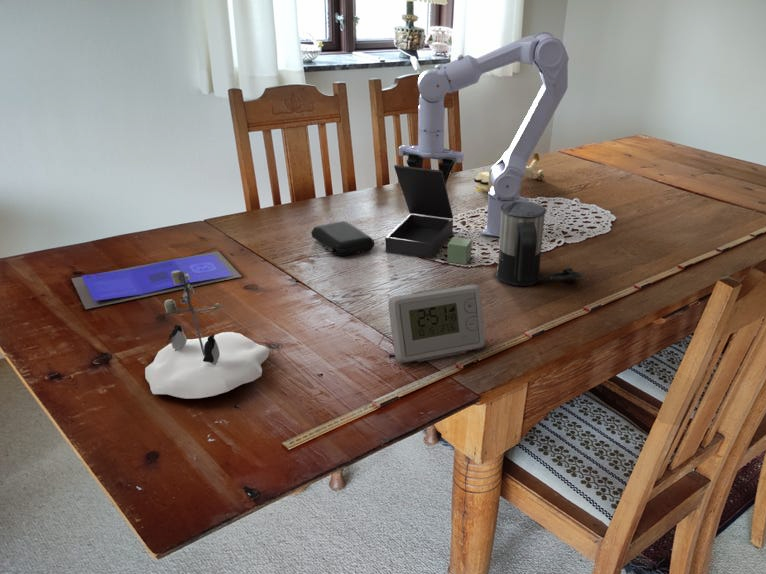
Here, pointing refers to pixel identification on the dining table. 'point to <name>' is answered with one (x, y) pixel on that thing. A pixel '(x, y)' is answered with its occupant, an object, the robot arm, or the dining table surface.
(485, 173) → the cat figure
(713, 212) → the dining table surface
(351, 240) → the carrying case
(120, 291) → the booklet
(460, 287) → the digital clock
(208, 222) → the dining table surface
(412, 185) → the cover
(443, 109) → the robot arm
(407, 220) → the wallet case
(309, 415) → the dining table surface
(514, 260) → the milk frother
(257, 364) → the figurine
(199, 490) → the dining table surface
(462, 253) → the block
